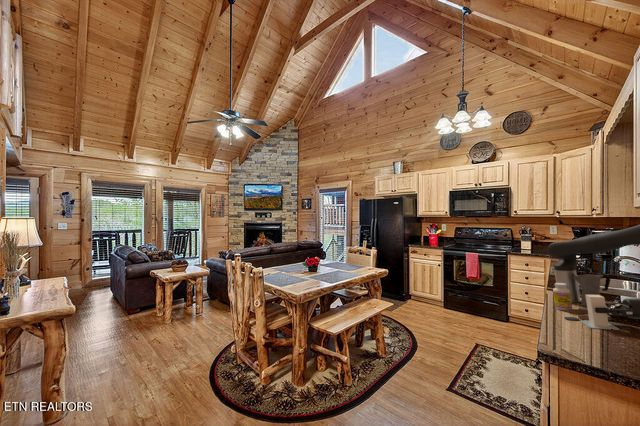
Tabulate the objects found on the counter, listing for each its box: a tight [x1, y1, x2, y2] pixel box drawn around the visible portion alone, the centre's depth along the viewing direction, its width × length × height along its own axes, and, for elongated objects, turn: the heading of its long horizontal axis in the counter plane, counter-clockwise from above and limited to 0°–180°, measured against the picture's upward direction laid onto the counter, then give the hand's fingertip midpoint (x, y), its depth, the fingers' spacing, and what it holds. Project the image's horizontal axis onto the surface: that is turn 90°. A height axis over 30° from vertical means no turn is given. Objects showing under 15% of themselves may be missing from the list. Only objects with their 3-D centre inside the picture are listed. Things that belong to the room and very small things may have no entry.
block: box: [585, 294, 609, 327], centre depth 117 cm, size 4×4×12 cm
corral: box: [568, 308, 612, 321], centre depth 128 cm, size 11×11×2 cm
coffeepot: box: [573, 270, 611, 307], centre depth 144 cm, size 15×9×18 cm, turn 70°
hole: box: [564, 316, 580, 322], centre depth 126 cm, size 5×5×1 cm
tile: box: [579, 320, 620, 331], centre depth 116 cm, size 9×9×1 cm
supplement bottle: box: [552, 282, 573, 311], centre depth 141 cm, size 7×7×13 cm
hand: (590, 307), depth 118 cm, fingers open, 8 cm apart
